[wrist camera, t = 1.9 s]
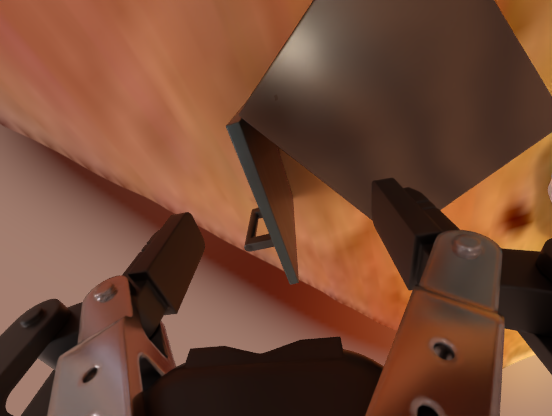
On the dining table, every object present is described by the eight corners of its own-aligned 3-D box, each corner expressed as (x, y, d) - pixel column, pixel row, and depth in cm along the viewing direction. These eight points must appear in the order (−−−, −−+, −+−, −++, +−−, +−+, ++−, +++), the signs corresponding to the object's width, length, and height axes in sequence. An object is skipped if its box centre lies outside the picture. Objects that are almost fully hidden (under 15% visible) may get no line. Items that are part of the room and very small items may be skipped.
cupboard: (349, 163, 36) (397, 240, 21) (260, 86, 30) (237, 115, 15) (425, 89, 30) (567, 121, 15) (332, -22, 25) (408, -145, 10)
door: (258, 206, 40) (244, 292, 26) (218, 104, 32) (160, 146, 17) (293, 197, 39) (298, 283, 24) (260, 90, 31) (238, 121, 16)
